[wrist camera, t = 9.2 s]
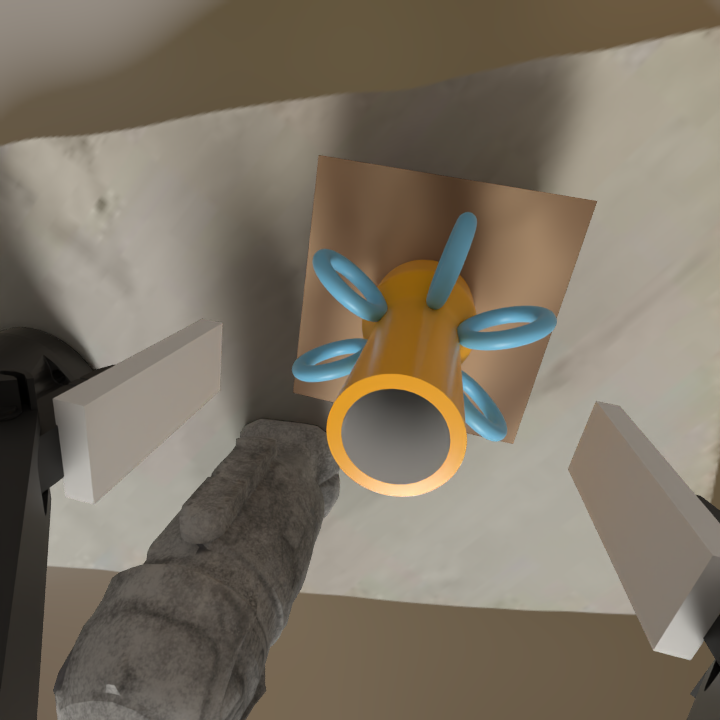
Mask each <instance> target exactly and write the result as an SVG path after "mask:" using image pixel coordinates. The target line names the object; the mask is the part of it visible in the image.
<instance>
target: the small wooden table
mask: <svg viewBox="0 0 720 720" xmlns="http://www.w3.org/2000/svg"><path fill="white" fill-rule="evenodd" d="M596 203H597V201H593V200H587V199H581V198H575V197H569V196H563V195H557V194H551V193H545V192H539V191H533V190H527V189H521V188H515V187H509V186H503V185H497V184H491V183H485V182H479V181H472V180H466V179H460V178H454V177H448V176H442V175H436V174H430V173H424V172H418V171H412V170H406V169H400V168H394V167H388V166H382V165H376V164H370V163H364V162H358V161H352V160H346V159H340V158H334V157H327V156H321V155H319V157H318V167H317V176H316V185H315V194H314V204H313V213H312V222H311V231H310V241H309V250H308V259H307V268H306V277H305V287H304V296H303V305H302V314H301V324H300V333H299V342H298V351H297V359H298V358H299V357H300V356H301V355H303V354H305V353H306V352H308V351H310V350H312V349H314V348H317V347H319V346H322V345H325V344H328V343H332V342H336V341H340V340H345V339H353V338H362V339H364V338H363V333H362V318H360V317H359V316H357V315H355V314H354V313H352V312H351V311H349V310H348V309H347V308H345V307H344V306H343V305H342V304H341V303H340V302H338V301H337V300H336V299H335V298H334V297H333V296H332V295H331V294H330V293H329V291H328V290H327V289H326V288H325V287H324V285H323V284H322V283H321V281H320V280H319V278H318V277H317V275H316V273H315V270H314V268H313V256H314V254H315V253H316V252H317V251H318V250H321V249H330V250H333V251H335V252H337V253H339V254H341V255H343V256H344V257H346V258H347V259H349V260H350V261H351V262H352V263H354V264H355V265H356V266H357V267H358V268H360V269H361V270H362V271H363V272H364V273H365V274H366V275H367V276H368V277H369V278H370V279H371V281H372V282H373V283H374V284H375V285H376V287H377V286H378V285H379V283H380V282H381V281H382V279H383V278H384V277H385V276H386V275H387V274H388V273H389V272H390V271H391V270H393V269H394V268H396V267H397V266H399V265H401V264H403V263H406V262H409V261H413V260H434V261H438V262H439V261H440V258H441V256H442V253H443V251H444V248H445V246H446V243H447V241H448V239H449V236H450V234H451V232H452V230H453V227H454V225H455V223H456V221H457V219H458V218H459V216H460V215H461V214H463V213H465V212H471V213H473V214H474V215H475V216H476V218H477V227H476V231H475V234H474V238H473V241H472V243H471V246H470V249H469V252H468V254H467V257H466V260H465V262H464V265H463V267H462V269H461V272H460V275H461V276H462V278H463V279H464V280H465V281H466V283H467V285H468V287H469V289H470V291H471V294H472V297H473V300H474V305H475V309H476V313H477V314H480V313H483V312H486V311H490V310H494V309H499V308H505V307H512V306H539V307H544V308H547V309H549V310H551V311H552V312H553V313H554V314H555V316H556V318H557V316H558V313H559V310H560V307H561V304H562V301H563V298H564V295H565V293H566V290H567V287H568V284H569V281H570V278H571V275H572V272H573V269H574V267H575V264H576V261H577V258H578V255H579V252H580V249H581V246H582V244H583V241H584V238H585V235H586V232H587V229H588V226H589V223H590V220H591V218H592V215H593V212H594V209H595V206H596ZM335 271H336V270H335ZM336 272H337V273H338V275H339V276H340V277H341V278H342V279H343V281H344V282H345V283H346V284H347V285H348V286H349V287H350V288H352V289H353V290H354V291H355V292H356V293H357V294H359V295H360V296H361V297H362V298H364V299H365V300H366V298H365V297H364V296H363V294H362V293H361V292H360V291H359V290H358V289H357V287H356V286H355V285H354V284H353V283H351V282H350V281H349V280H348V279H347V278H346V277H344V276H343V275H342V274H341V273H339V272H338V271H336ZM526 324H529V322H517V323H507V324H501V325H496V326H492V327H489V328H486V329H483V330H481V331H478V332H493V331H502V330H507V329H512V328H516V327H520V326H523V325H526ZM551 333H552V332H551ZM551 333H550V334H548V335H547V336H545V337H544V338H542V339H540V340H538V341H535V342H533V343H530V344H527V345H523V346H519V347H515V348H509V349H502V350H474V349H472V351H471V352H470V354H469V356H468V357H467V358H466V360H465V361H464V362H463V363H462V364H461V369H462V371H464V372H465V373H467V374H468V375H469V376H470V377H472V378H473V379H474V380H475V381H476V382H477V383H478V384H479V385H480V386H481V387H482V388H483V389H484V390H485V391H486V393H487V394H488V395H489V396H490V397H491V399H492V400H493V401H494V403H495V404H496V406H497V407H498V408H499V410H500V412H501V413H502V415H503V417H504V419H505V422H506V425H507V434H506V436H505V438H504V439H502V440H501V441H503V442H507V443H511V444H513V443H514V440H515V437H516V434H517V431H518V428H519V425H520V422H521V419H522V417H523V414H524V411H525V408H526V405H527V402H528V399H529V396H530V393H531V391H532V388H533V385H534V382H535V379H536V376H537V373H538V370H539V368H540V365H541V362H542V359H543V356H544V353H545V350H546V347H547V344H548V342H549V339H550V336H551ZM353 354H355V353H351V354H344V355H340V356H336V357H332V358H329V359H326V360H324V361H321V362H319V363H317V364H315V365H321V364H326V363H331V362H334V361H338V360H341V359H343V358H346V357H348V356H351V355H353ZM348 376H349V375H346V376H344V377H340V378H337V379H333V380H328V381H322V382H305V381H301V380H299V379H297V378H296V377H295V379H294V388H293V393H296V394H301V395H305V396H309V397H314V398H318V399H322V400H326V401H331V402H335V400H336V398H337V397H338V395H339V393H340V391H341V389H342V387H343V385H344V384H345V382H346V380H347V378H348ZM463 392H464V394H465V395H466V396H467V398H468V399H469V400H470V401H471V403H472V404H473V405H474V406H475V407H476V408H477V409H478V410H479V411H480V412H481V413H482V414H483V412H482V411H481V410H480V408H479V407H478V406H477V404H476V403H475V402H474V401H473V400H472V398H471V397H470V396H469V395H468V394H467V393H466V392H465V391H464V390H463ZM483 415H484V414H483ZM466 433H468V434H473V435H477V436H481V435H479V434H478V433H477V432H475V431H474V430H473V429H472V428H471V427H470V426H469V425H468V424H467V423H466ZM481 437H482V436H481Z"/></svg>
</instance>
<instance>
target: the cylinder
mask: <svg viewBox="0 0 720 720" xmlns="http://www.w3.org/2000/svg"><path fill="white" fill-rule="evenodd" d="M476 227H477V218H476V216H475V215H474V214H473V213H471V212H465V213H463V214H461V215H460V216H459V218H458V219H457V221H456V223H455V225H454V227H453V230H452V232H451V234H450V236H449V239H448V241H447V243H446V246H445V248H444V251H443V253H442V256H441V258H440V261H439V262H438V261H434V260H413V261H409V262H406V263H403V264H401V265H399V266H397V267H396V268H394V269H393V270H391V271H390V272H389V273H388V274H387V275H386V276H385V277H384V278H383V279H382V281H381V282H380V283H379V285H378V286H377V287H376V285H375V284H374V283H373V282H372V281H371V279H370V278H369V277H368V276H367V275H366V274H365V273H364V272H363V271H362V270H361V269H360V268H358V267H357V266H356V265H355V264H354V263H352V262H351V261H350V260H349V259H347V258H346V257H344V256H343V255H341V254H339V253H337V252H335V251H333V250H330V249H321V250H318V251H317V252H316V253H315V254H314V256H313V268H314V270H315V273H316V275H317V277H318V278H319V280H320V281H321V283H322V284H323V285H324V287H325V288H326V289H327V290H328V291H329V293H330V294H331V295H332V296H333V297H334V298H335V299H336V300H337V301H338V302H340V303H341V304H342V305H343V306H344V307H345V308H347V309H348V310H349V311H351V312H352V313H354V314H355V315H357V316H359V317H360V318H362V333H363V338H364V339H362V338H353V339H345V340H340V341H336V342H332V343H328V344H325V345H322V346H319V347H317V348H314V349H312V350H310V351H308V352H306V353H305V354H303V355H301V356H300V357H299V358H298V359H297V360H296V361H295V362H294V364H293V366H292V372H293V375H294V376H295V377H296V378H297V379H299V380H301V381H305V382H322V381H328V380H333V379H337V378H340V377H344V376H346V375H349V376H348V378H347V380H346V382H345V384H344V385H343V387H342V389H341V391H340V393H339V395H338V397H337V398H336V400H335V402H334V404H333V406H332V408H331V410H330V413H329V416H328V420H327V429H326V432H327V441H328V445H329V448H330V451H331V453H332V456H333V457H334V459H335V461H336V462H337V464H338V465H339V467H340V468H341V469H342V470H343V471H344V473H345V474H346V475H348V476H349V477H350V478H351V479H352V480H354V481H355V482H356V483H358V484H359V485H361V486H363V487H365V488H367V489H369V490H371V491H374V492H377V493H380V494H384V495H388V496H396V497H408V496H416V495H421V494H424V493H427V492H430V491H432V490H435V489H436V488H438V487H440V486H442V485H443V484H444V483H446V482H447V481H448V480H449V479H450V478H451V477H452V476H453V475H454V474H455V473H456V471H457V470H458V468H459V467H460V465H461V463H462V461H463V458H464V455H465V452H466V446H467V434H466V423H467V424H468V425H469V426H470V427H471V428H472V429H473V430H474V431H475V432H477V433H478V434H479V435H481V436H482V437H484V438H486V439H488V440H491V441H501V440H502V439H504V438H505V436H506V434H507V425H506V422H505V419H504V417H503V415H502V413H501V412H500V410H499V408H498V407H497V406H496V404H495V403H494V401H493V400H492V399H491V397H490V396H489V395H488V394H487V393H486V391H485V390H484V389H483V388H482V387H481V386H480V385H479V384H478V383H477V382H476V381H475V380H474V379H473V378H472V377H470V376H469V375H468V374H467V373H465V372H464V371H462V369H461V364H462V363H463V362H464V361H465V360H466V358H467V357H468V356H469V354H470V352H471V351H472V349H474V350H502V349H509V348H515V347H519V346H523V345H527V344H530V343H533V342H535V341H538V340H540V339H542V338H544V337H545V336H547V335H548V334H550V333H551V332H552V331H553V330H554V328H555V326H556V323H557V319H556V316H555V314H554V313H553V312H552V311H551V310H549V309H547V308H544V307H539V306H512V307H505V308H499V309H494V310H490V311H486V312H483V313H480V314H477V313H476V309H475V305H474V300H473V297H472V294H471V291H470V289H469V287H468V285H467V283H466V281H465V280H464V279H463V278H462V276H461V275H460V272H461V269H462V267H463V265H464V262H465V260H466V257H467V254H468V252H469V249H470V246H471V243H472V241H473V238H474V234H475V231H476ZM335 270H336V271H338V272H339V273H341V274H342V275H343V276H344V277H346V278H347V279H348V280H349V281H350V282H351V283H353V284H354V285H355V286H356V287H357V289H358V290H359V291H360V292H361V293H362V294H363V296H364V297H365V298H366V300H365V299H364V298H362V297H361V296H360V295H359V294H357V293H356V292H355V291H354V290H353V289H352V288H350V287H349V286H348V285H347V284H346V283H345V282H344V281H343V279H342V278H341V277H340V276H339V275H338V273H337V272H336V271H335ZM517 322H529V324H526V325H523V326H520V327H516V328H512V329H507V330H502V331H493V332H478V331H481V330H483V329H486V328H489V327H492V326H496V325H501V324H507V323H517ZM351 353H355V354H353V355H351V356H348V357H346V358H343V359H341V360H338V361H334V362H331V363H326V364H321V365H315V364H317V363H319V362H321V361H324V360H326V359H329V358H332V357H336V356H340V355H344V354H351ZM463 390H464V391H465V392H466V393H467V394H468V395H469V396H470V397H471V398H472V400H473V401H474V402H475V403H476V404H477V406H478V407H479V408H480V410H481V411H482V412H483V414H484V415H483V414H482V413H481V412H480V411H479V410H478V409H477V408H476V407H475V406H474V405H473V404H472V403H471V401H470V400H469V399H468V398H467V396H466V395H465V394H464V392H463Z"/></svg>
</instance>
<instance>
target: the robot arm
mask: <svg viewBox="0 0 720 720" xmlns="http://www.w3.org/2000/svg"><path fill="white" fill-rule="evenodd" d="M222 326H223V323H222V322H217V321H212V320H207V319H201V320H199V321H197V322H195V323H193V324H192V325H190V326H188V327H186V328H184V329H182V330H180V331H178V332H177V333H175V334H173V335H171V336H169V337H167V338H165V339H163V340H162V341H160V342H158V343H156V344H154V345H152V346H150V347H148V348H147V349H145V350H143V351H141V352H139V353H137V354H135V355H133V356H132V357H130V358H128V359H126V360H124V361H122V362H120V363H118V364H117V365H111V366H107V367H104V368H100V369H96V370H92V369H91V368H90V366H89V365H88V364H87V363H86V362H85V360H84V359H83V358H82V357H81V356H80V355H79V354H78V353H77V352H75V351H74V350H73V349H72V348H71V347H69V346H68V345H67V344H65V343H64V342H62V341H61V340H59V339H57V338H56V337H54V336H52V335H50V334H47V333H45V332H42V331H39V330H35V329H31V328H21V327H18V328H9V329H5V330H2V331H0V720H37V707H38V692H39V678H40V662H41V647H42V632H43V617H44V602H45V601H44V600H45V585H46V571H47V556H48V541H49V526H50V511H51V494H50V487H51V486H52V485H54V484H55V483H56V482H58V481H59V480H60V479H62V478H63V482H64V490H65V497H67V498H70V499H74V500H78V501H82V502H86V503H90V504H93V505H94V504H95V503H96V502H97V501H99V500H100V499H101V498H102V497H103V496H104V495H105V494H106V493H107V492H108V491H110V490H111V489H112V488H113V487H114V486H115V485H116V484H117V483H118V482H120V481H121V480H122V479H123V478H124V477H125V476H126V475H127V474H128V473H129V472H131V471H132V470H133V469H134V468H135V467H136V466H137V465H138V464H139V463H140V462H142V461H143V460H144V459H145V458H146V457H147V456H148V455H149V454H150V453H152V452H153V451H154V450H155V449H156V448H157V447H158V446H159V445H160V444H161V443H163V442H164V441H165V440H166V439H167V438H168V437H169V436H170V435H171V434H173V433H174V432H175V431H176V430H177V429H178V428H179V427H180V426H181V425H182V424H184V423H185V422H186V421H187V420H188V419H189V418H190V417H191V416H192V415H194V414H195V413H196V412H197V411H198V410H199V409H200V408H201V407H202V406H203V405H205V404H206V403H207V402H208V401H209V400H210V399H211V398H212V397H213V396H214V395H216V394H217V393H218V392H219V391H220V381H221V353H222ZM568 470H569V472H570V474H571V476H572V478H573V481H574V483H575V485H576V487H577V489H578V491H579V493H580V496H581V498H582V500H583V502H584V504H585V506H586V508H587V510H588V513H589V515H590V517H591V519H592V521H593V523H594V525H595V528H596V530H597V532H598V534H599V536H600V538H601V540H602V542H603V545H604V547H605V549H606V551H607V553H608V555H609V557H610V559H611V562H612V564H613V566H614V568H615V570H616V572H617V574H618V577H619V579H620V581H621V583H622V585H623V587H624V589H625V591H626V594H627V596H628V598H629V600H630V602H631V604H632V606H633V609H634V611H635V613H636V615H637V617H638V619H639V621H640V623H641V626H642V627H643V630H644V632H645V634H646V636H647V638H648V640H649V643H650V645H651V647H652V649H653V651H657V652H661V653H665V654H669V655H673V656H676V657H680V658H684V659H688V660H691V659H692V657H693V656H694V655H695V653H696V652H697V650H698V649H699V647H700V646H701V644H702V643H703V641H705V642H706V644H707V646H708V647H709V649H710V651H711V652H712V654H713V656H714V657H715V660H714V661H713V663H712V665H711V666H710V667H709V668H708V670H707V671H706V673H705V674H704V675H703V677H702V678H701V680H700V681H699V682H698V684H697V685H696V687H695V688H694V689H693V691H692V692H691V695H692V696H694V697H695V701H694V703H693V706H692V708H691V711H690V713H689V715H688V718H687V720H720V510H718V509H717V508H716V507H715V506H713V505H712V504H711V503H709V502H708V501H707V500H705V499H704V498H703V497H701V496H699V495H695V494H694V492H693V491H692V490H691V489H690V488H689V487H688V485H687V484H686V483H685V482H684V481H683V480H682V478H681V477H680V476H679V475H678V474H677V472H676V471H675V470H674V469H673V468H672V467H671V465H670V464H669V463H668V462H667V461H666V460H665V458H664V457H663V456H662V455H661V454H660V452H659V451H658V450H657V449H656V448H655V447H654V445H653V444H652V443H651V442H650V441H649V440H648V438H647V437H646V436H645V435H644V434H643V433H642V431H641V430H640V429H639V428H638V427H637V425H636V424H635V423H634V422H633V421H632V420H631V418H630V417H629V416H628V415H627V414H626V413H625V411H624V410H623V409H622V408H621V407H620V406H617V405H613V404H608V403H603V402H598V401H596V403H595V405H594V407H593V410H592V412H591V415H590V417H589V420H588V422H587V424H586V427H585V429H584V432H583V434H582V436H581V439H580V441H579V444H578V446H577V449H576V451H575V453H574V456H573V458H572V461H571V463H570V465H569V468H568Z"/></svg>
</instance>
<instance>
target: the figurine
mask: <svg viewBox="0 0 720 720" xmlns="http://www.w3.org/2000/svg"><path fill="white" fill-rule="evenodd" d="M338 473H339V465H338V464H337V462H336V461H335V459H334V457H333V456H332V453H331V451H330V448H329V445H328V441H327V433H325V432H324V431H323V430H322V429H321V428H319V427H318V426H316V425H309V424H303V423H295V422H287V421H278V420H269V419H259V420H256V421H254V422H252V423H250V424H247V425H245V426H244V428H243V429H242V431H241V432H240V438H237V439H236V446H235V448H234V449H233V450H232V451H231V453H230V454H229V455H228V456H227V457H226V458H225V459H224V460H223V461H222V462H221V463H220V464H219V465H218V466H217V468H216V469H215V470H214V471H213V473H212V475H211V477H208V478H207V479H206V480H205V481H204V482H203V483H202V484H201V485H200V487H199V488H198V489H197V490H196V491H195V492H194V493H193V494H192V496H191V497H190V498H189V499H188V500H187V501H186V502H185V503H184V505H183V506H182V509H181V511H180V512H179V513H178V514H177V515H176V516H175V517H174V518H173V520H172V521H171V522H170V523H169V525H168V526H167V527H166V528H165V530H164V531H163V532H162V533H161V534H160V535H159V536H158V537H157V539H156V540H155V541H154V542H153V543H152V545H151V546H150V548H149V550H148V553H147V560H146V561H145V563H144V564H143V565H139V566H136V567H133V568H130V569H127V570H125V571H122V572H120V573H118V574H117V575H116V576H114V577H113V578H112V579H111V582H110V584H109V586H108V588H107V591H106V593H105V595H104V597H103V599H102V601H101V603H100V604H99V606H98V607H97V609H96V611H95V612H94V614H93V615H92V616H91V617H90V619H89V620H88V621H87V622H86V624H85V625H84V626H83V628H82V630H81V632H80V634H79V637H78V639H77V641H76V643H75V645H74V647H73V649H72V650H71V652H70V654H69V656H68V657H67V659H66V661H65V662H64V664H63V666H62V668H61V669H60V671H59V673H58V676H57V680H56V683H55V686H54V689H53V691H54V694H55V698H56V709H57V717H58V720H246V718H247V717H248V715H249V713H250V712H251V710H252V708H253V707H254V705H255V704H256V703H257V702H258V700H259V699H260V698H261V697H262V695H263V694H264V693H265V692H266V686H265V663H266V659H267V656H268V652H269V648H270V647H271V646H272V645H273V644H274V643H275V642H276V641H277V640H278V638H279V637H280V634H281V632H282V630H283V629H284V628H285V626H286V625H287V622H288V617H289V614H290V611H291V607H292V603H293V602H294V600H295V598H296V597H297V595H298V593H299V592H300V590H301V588H302V585H303V583H304V580H305V577H306V574H307V570H308V567H309V563H310V560H311V556H312V552H313V547H314V544H315V541H316V539H317V536H318V534H319V531H320V529H321V524H322V521H323V518H324V517H326V516H327V515H328V513H329V512H330V510H331V509H332V507H333V506H334V504H335V502H336V500H337V499H338V496H339V477H338Z"/></svg>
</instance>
